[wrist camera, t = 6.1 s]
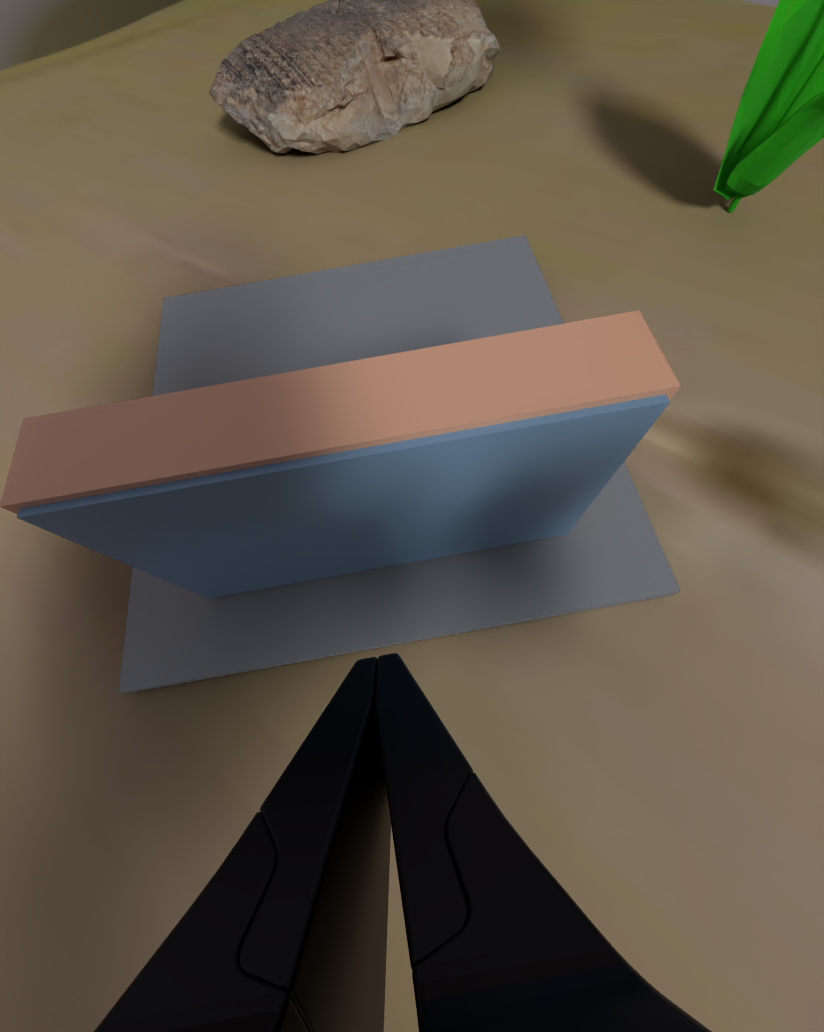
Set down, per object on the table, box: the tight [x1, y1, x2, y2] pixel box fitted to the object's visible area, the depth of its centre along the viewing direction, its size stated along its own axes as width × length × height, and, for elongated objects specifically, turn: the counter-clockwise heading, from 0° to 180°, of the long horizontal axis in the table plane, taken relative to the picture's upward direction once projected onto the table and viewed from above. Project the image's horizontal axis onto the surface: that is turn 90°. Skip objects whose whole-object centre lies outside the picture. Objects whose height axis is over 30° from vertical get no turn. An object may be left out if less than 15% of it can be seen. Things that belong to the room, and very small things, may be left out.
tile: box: [0, 311, 680, 599], centre depth 12 cm, size 2×14×8 cm, turn 99°
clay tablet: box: [209, 0, 500, 154], centre depth 29 cm, size 14×5×20 cm
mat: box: [118, 235, 680, 693], centre depth 19 cm, size 20×20×1 cm
